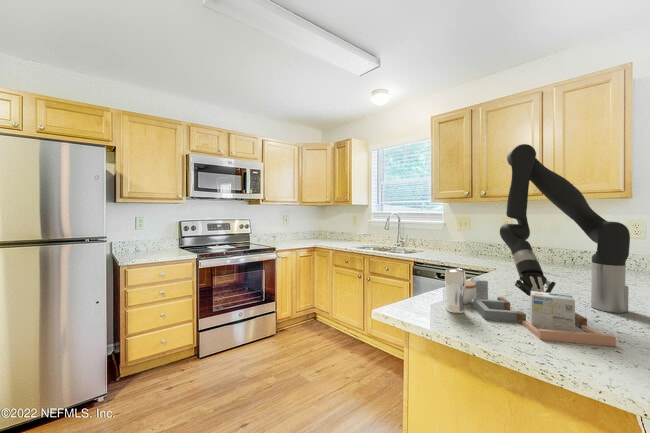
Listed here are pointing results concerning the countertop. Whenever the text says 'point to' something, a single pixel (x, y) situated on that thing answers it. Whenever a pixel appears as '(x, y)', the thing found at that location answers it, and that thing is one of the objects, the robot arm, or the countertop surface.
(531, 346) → the countertop surface
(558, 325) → the light bulb box
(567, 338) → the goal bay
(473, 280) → the medicine box
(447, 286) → the silver metal can
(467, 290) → the lidded jar
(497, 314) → the frame
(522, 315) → the open corridor
